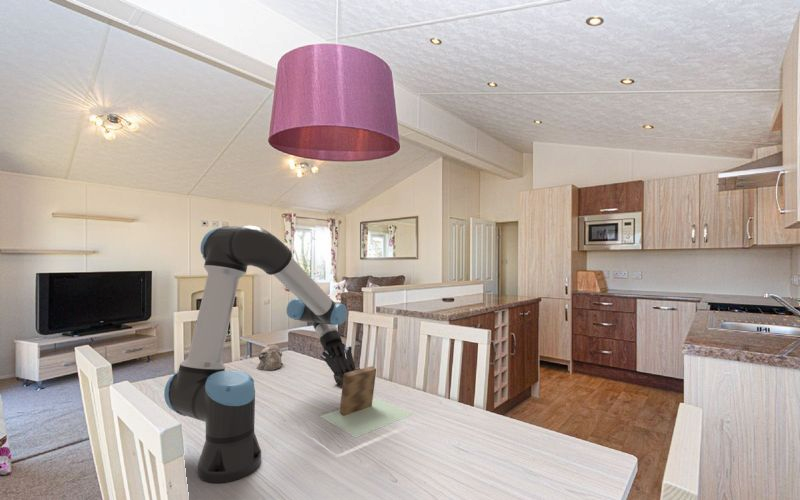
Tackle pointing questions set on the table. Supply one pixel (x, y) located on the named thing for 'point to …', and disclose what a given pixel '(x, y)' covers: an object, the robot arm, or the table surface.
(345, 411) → the board
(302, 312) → the robot arm
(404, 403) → the table surface
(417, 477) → the table surface
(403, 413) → the mat
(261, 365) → the rock
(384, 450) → the table surface
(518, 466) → the table surface
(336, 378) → the rock
